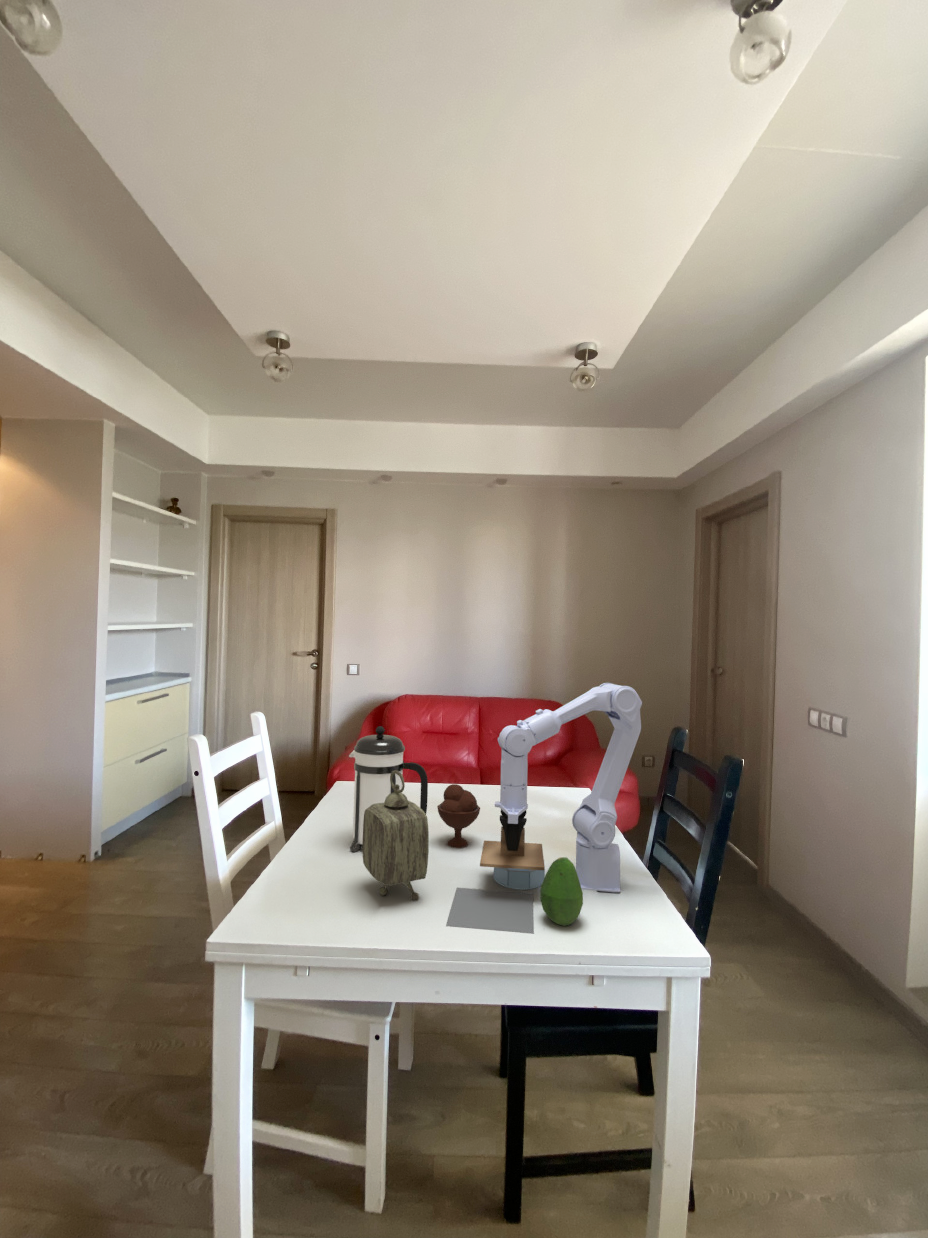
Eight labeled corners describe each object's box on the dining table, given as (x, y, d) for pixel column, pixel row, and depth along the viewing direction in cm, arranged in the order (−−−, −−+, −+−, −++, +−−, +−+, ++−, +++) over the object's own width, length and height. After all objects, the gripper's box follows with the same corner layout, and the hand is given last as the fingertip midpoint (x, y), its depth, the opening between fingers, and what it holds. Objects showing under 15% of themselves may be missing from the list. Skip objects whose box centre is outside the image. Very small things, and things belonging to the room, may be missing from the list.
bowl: (543, 871, 129) (543, 854, 129) (544, 893, 118) (545, 873, 118) (495, 868, 130) (495, 850, 130) (492, 889, 119) (493, 870, 119)
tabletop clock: (427, 903, 112) (430, 777, 113) (384, 913, 107) (388, 781, 108) (398, 875, 125) (402, 762, 125) (359, 883, 120) (363, 766, 121)
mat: (532, 895, 117) (532, 893, 117) (533, 935, 101) (533, 933, 101) (456, 889, 119) (456, 887, 119) (445, 928, 103) (445, 926, 103)
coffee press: (367, 862, 131) (371, 733, 132) (336, 842, 144) (340, 724, 144) (427, 846, 142) (431, 727, 143) (393, 829, 155) (397, 719, 156)
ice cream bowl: (442, 853, 138) (444, 792, 138) (432, 837, 149) (434, 780, 149) (483, 850, 141) (485, 790, 141) (471, 835, 151) (472, 779, 152)
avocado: (576, 913, 110) (578, 850, 110) (586, 934, 102) (588, 867, 102) (536, 912, 110) (537, 850, 110) (543, 933, 102) (544, 866, 102)
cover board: (541, 846, 125) (542, 821, 126) (544, 870, 113) (545, 842, 113) (483, 843, 127) (484, 818, 127) (479, 866, 114) (480, 838, 114)
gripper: (496, 774, 128) (495, 834, 127) (493, 791, 113) (492, 859, 113) (527, 775, 127) (526, 836, 127) (528, 793, 113) (527, 861, 112)
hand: (512, 847), depth 120 cm, fingers closed on cover board, 3 cm apart
